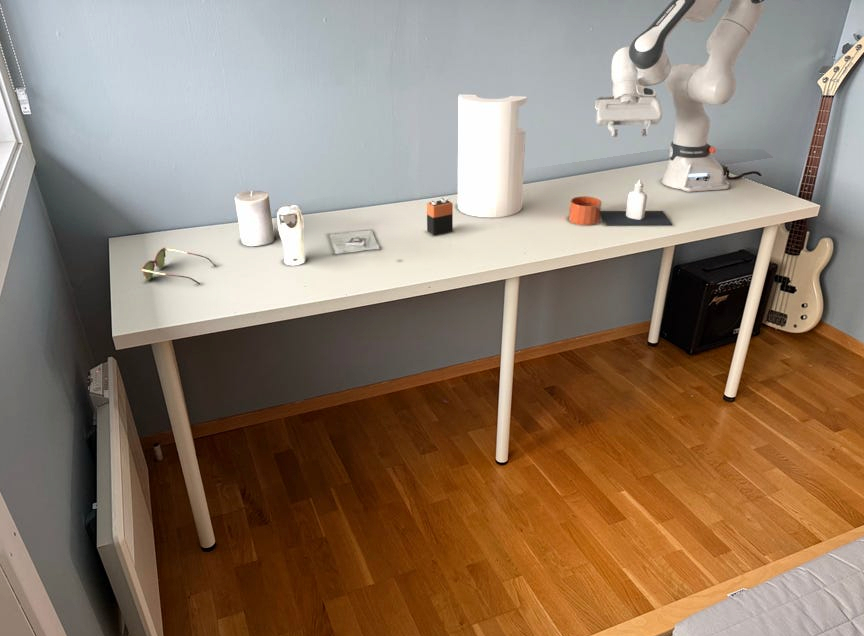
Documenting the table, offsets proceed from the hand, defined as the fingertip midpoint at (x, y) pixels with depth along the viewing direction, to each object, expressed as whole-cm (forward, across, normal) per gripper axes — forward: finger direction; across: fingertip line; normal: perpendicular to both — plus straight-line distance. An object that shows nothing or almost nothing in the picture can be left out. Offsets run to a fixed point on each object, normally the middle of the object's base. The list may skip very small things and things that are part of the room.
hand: (629, 135), depth 226 cm
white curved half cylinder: (+20, -45, +10) cm, 50 cm away
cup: (+26, -15, +4) cm, 31 cm away
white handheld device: (+48, -100, -18) cm, 113 cm away
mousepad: (+41, -82, -11) cm, 92 cm away
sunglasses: (+54, -129, -25) cm, 142 cm away
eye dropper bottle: (+26, +1, +5) cm, 26 cm away
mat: (+26, +1, +5) cm, 26 cm away
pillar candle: (+37, -114, -8) cm, 120 cm away
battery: (+33, -60, -2) cm, 68 cm away
